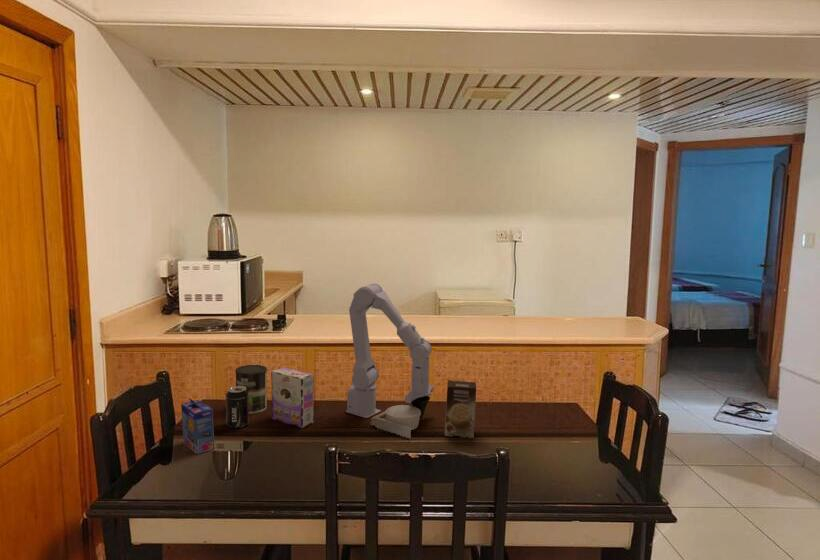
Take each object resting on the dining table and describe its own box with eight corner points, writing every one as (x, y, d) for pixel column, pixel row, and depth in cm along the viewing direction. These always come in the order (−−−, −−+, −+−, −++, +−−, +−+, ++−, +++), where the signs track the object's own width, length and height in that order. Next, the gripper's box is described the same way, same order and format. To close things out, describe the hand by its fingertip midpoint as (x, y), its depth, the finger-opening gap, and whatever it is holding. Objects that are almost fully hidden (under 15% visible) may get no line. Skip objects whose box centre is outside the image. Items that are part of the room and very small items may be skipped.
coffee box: (444, 436, 163) (446, 386, 161) (445, 428, 170) (446, 379, 167) (474, 438, 162) (476, 388, 160) (473, 430, 169) (475, 381, 167)
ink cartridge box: (181, 443, 154) (180, 395, 152) (200, 438, 158) (199, 391, 156) (195, 455, 147) (194, 405, 145) (214, 449, 151) (213, 400, 149)
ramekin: (380, 422, 173) (380, 407, 172) (411, 417, 177) (411, 402, 176) (393, 436, 162) (393, 419, 162) (426, 430, 167) (426, 414, 166)
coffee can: (259, 415, 176) (258, 374, 174) (230, 412, 178) (229, 372, 176) (272, 404, 186) (271, 365, 184) (244, 402, 188) (244, 363, 186)
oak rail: (370, 425, 170) (370, 418, 170) (395, 413, 181) (395, 406, 181) (374, 426, 169) (374, 419, 169) (398, 414, 180) (399, 407, 180)
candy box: (314, 423, 171) (314, 373, 169) (301, 429, 166) (301, 378, 164) (284, 413, 178) (283, 366, 176) (270, 419, 173) (270, 370, 171)
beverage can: (240, 431, 163) (239, 393, 162) (221, 427, 165) (220, 390, 164) (253, 422, 170) (252, 386, 168) (235, 419, 172) (234, 384, 170)
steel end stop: (375, 428, 168) (375, 417, 167) (376, 427, 168) (377, 417, 168) (409, 439, 161) (409, 428, 160) (410, 438, 161) (410, 427, 161)
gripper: (418, 386, 165) (417, 427, 167) (442, 375, 177) (440, 414, 179) (399, 381, 169) (398, 422, 171) (424, 371, 181) (423, 409, 183)
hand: (419, 417), depth 175 cm, fingers closed
